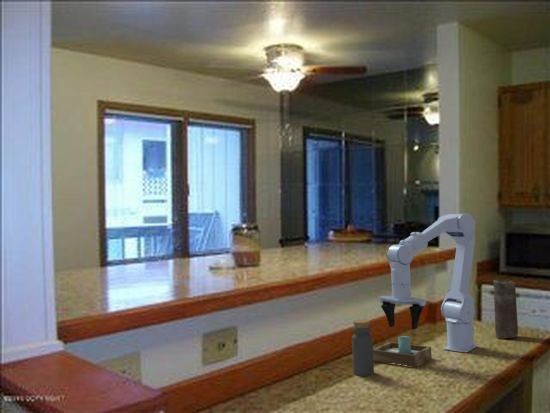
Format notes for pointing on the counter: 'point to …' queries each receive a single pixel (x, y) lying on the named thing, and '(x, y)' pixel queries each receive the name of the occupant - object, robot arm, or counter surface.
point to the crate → (401, 354)
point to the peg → (404, 345)
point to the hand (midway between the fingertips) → (403, 327)
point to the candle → (505, 309)
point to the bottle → (362, 348)
